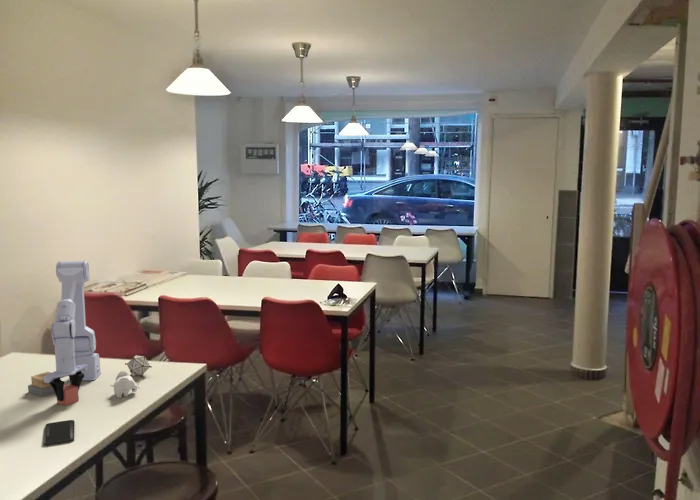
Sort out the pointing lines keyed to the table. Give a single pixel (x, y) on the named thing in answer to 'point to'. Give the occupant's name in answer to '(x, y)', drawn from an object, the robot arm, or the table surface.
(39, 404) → the table surface
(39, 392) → the charcoal base tile
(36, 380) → the oak tile
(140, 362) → the grey geodesic polyhedron
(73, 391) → the red block
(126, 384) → the elephant figurine
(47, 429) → the phone
